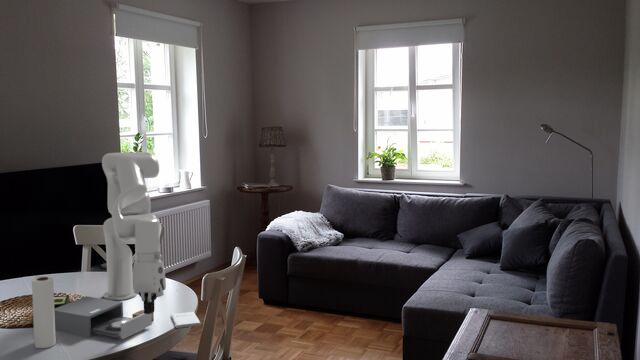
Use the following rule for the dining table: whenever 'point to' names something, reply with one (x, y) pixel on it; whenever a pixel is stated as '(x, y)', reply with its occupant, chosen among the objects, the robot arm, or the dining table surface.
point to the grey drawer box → (85, 315)
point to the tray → (123, 326)
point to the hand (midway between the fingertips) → (149, 312)
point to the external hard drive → (185, 319)
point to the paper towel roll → (43, 311)
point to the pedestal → (142, 313)
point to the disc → (117, 323)
